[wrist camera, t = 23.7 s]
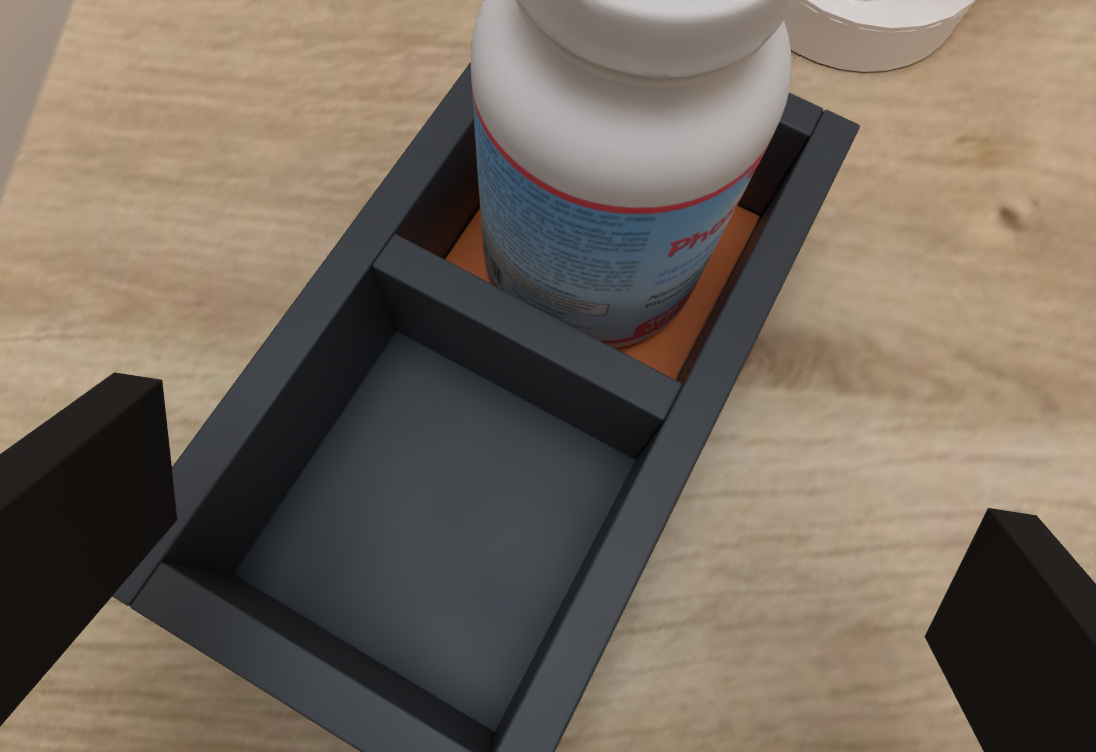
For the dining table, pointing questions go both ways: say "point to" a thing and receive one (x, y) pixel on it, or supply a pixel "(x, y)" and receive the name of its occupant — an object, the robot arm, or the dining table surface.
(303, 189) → the dining table surface
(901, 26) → the character figurine
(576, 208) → the pill bottle
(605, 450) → the holder
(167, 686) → the dining table surface
